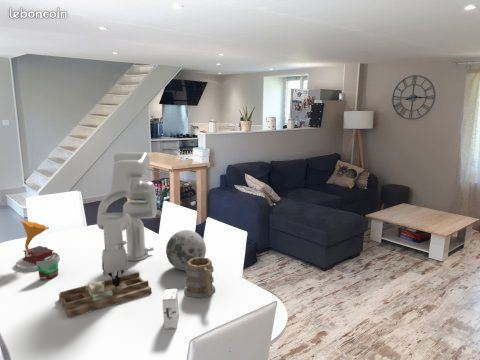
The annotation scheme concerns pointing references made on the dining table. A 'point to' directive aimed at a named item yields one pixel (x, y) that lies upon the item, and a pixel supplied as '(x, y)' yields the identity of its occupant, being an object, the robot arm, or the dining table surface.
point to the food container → (48, 267)
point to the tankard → (199, 277)
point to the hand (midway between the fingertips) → (116, 285)
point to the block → (95, 288)
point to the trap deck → (103, 295)
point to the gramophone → (34, 253)
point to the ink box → (170, 308)
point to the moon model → (184, 248)
